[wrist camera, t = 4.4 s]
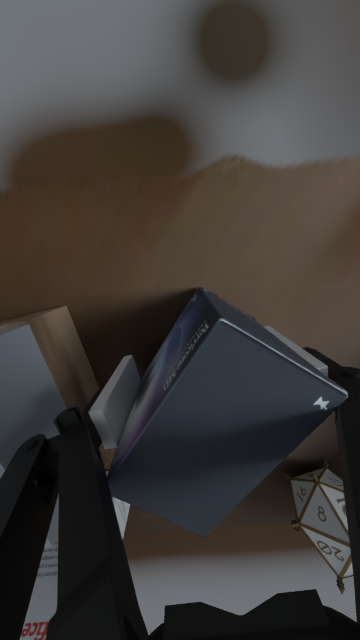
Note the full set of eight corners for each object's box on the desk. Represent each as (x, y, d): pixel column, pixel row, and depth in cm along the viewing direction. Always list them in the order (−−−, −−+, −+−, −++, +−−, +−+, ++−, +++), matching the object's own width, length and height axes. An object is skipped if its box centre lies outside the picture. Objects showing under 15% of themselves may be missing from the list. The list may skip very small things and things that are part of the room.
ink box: (71, 501, 24) (-24, 706, 13) (57, 474, 23) (-61, 677, 12) (133, 494, 24) (92, 698, 13) (124, 466, 23) (68, 667, 11)
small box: (195, 281, 16) (218, 308, 6) (255, 318, 17) (363, 394, 7) (140, 373, 19) (92, 498, 9) (194, 401, 20) (209, 544, 10)
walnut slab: (68, 305, 17) (26, 320, 13) (112, 415, 21) (92, 460, 16) (-28, 326, 18) (-104, 348, 13) (30, 430, 22) (-13, 477, 17)
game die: (284, 456, 27) (285, 559, 21) (279, 435, 22) (278, 563, 16) (370, 480, 22) (404, 624, 16) (387, 462, 17) (447, 659, 11)
